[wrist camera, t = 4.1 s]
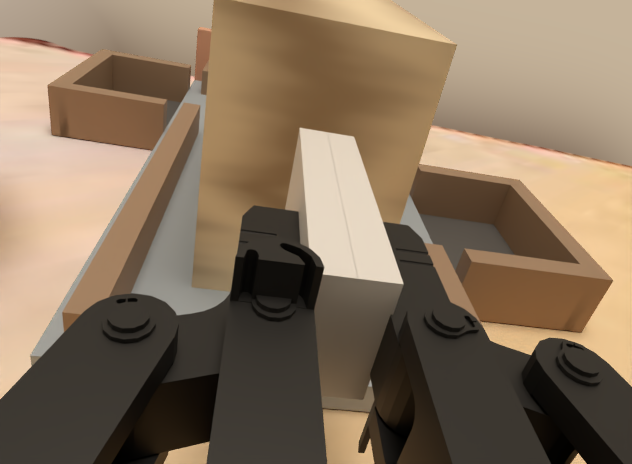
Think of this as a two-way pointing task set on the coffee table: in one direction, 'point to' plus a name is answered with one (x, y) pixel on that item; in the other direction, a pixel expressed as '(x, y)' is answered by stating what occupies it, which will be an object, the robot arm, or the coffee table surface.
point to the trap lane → (182, 204)
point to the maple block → (309, 106)
